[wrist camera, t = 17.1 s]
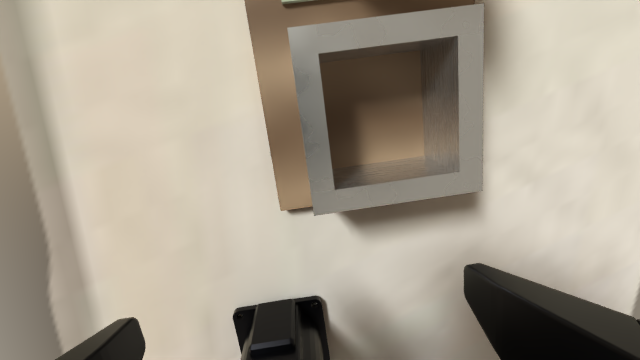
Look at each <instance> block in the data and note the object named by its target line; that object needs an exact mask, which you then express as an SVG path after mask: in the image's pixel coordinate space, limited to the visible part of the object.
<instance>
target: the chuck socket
mask: <svg viewBox="0 0 640 360" xmlns="http://www.w3.org/2000/svg"><path fill="white" fill-rule="evenodd" d="M287 30H288V37H289V45H290V52H291V59H292V66H293V73H294V80H295V87H296V94H297V101H298V108H299V115H300V122H301V129H302V136H303V143H304V150H305V157H306V164H307V171H308V178H309V185H310V192H311V198H312V205H313V212H314V216H316V215H323V214H329V213H336V212H343V211H350V210H357V209H363V208H370V207H377V206H384V205H390V204H397V203H404V202H411V201H418V200H424V199H431V198H438V197H445V196H452V195H458V194H465V193H472V192H479V191H482V173H483V61H484V3H482V4H474V5H466V6H458V7H450V8H442V9H434V10H426V11H418V12H410V13H402V14H394V15H386V16H378V17H370V18H362V19H354V20H346V21H338V22H330V23H321V24H313V25H305V26H297V27H289V28H287ZM418 50H420V57H421V81H422V106H423V130H424V155H425V156H420V157H413V158H406V159H399V160H392V161H385V162H378V163H371V164H364V165H357V166H350V167H343V168H336V169H332V164H331V155H330V147H329V139H328V131H327V122H326V114H325V106H324V98H323V89H322V81H321V73H320V65H319V63H325V62H332V61H340V60H348V59H356V58H363V57H371V56H379V55H387V54H394V53H402V52H410V51H418Z"/></svg>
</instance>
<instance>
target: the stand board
mask: <svg viewBox="0 0 640 360" xmlns="http://www.w3.org/2000/svg"><path fill="white" fill-rule="evenodd" d="M474 2H475V0H245V6H246V12H247V18H248V23H249V29H250V35H251V41H252V47H253V53H254V58H255V64H256V70H257V76H258V82H259V87H260V93H261V99H262V105H263V111H264V117H265V122H266V128H267V134H268V140H269V146H270V151H271V157H272V163H273V169H274V175H275V181H276V186H277V192H278V198H279V204H280V210H281V211H284V210H291V209H297V208H304V207H311V206H313V205H312V198H311V192H310V185H309V178H308V171H307V164H306V157H305V150H304V143H303V136H302V129H301V122H300V115H299V108H298V101H297V94H296V87H295V80H294V73H293V66H292V59H291V52H290V45H289V37H288V30H287V28H289V27H297V26H305V25H313V24H321V23H330V22H338V21H346V20H354V19H362V18H370V17H378V16H386V15H394V14H402V13H410V12H418V11H426V10H434V9H442V8H450V7H458V6H466V5H474ZM319 65H320V73H321V81H322V89H323V98H324V106H325V114H326V122H327V131H328V139H329V147H330V155H331V164H332V169H336V168H343V167H350V166H357V165H364V164H371V163H378V162H385V161H392V160H399V159H406V158H413V157H420V156H425V155H424V130H423V106H422V81H421V57H420V50H418V51H410V52H402V53H394V54H387V55H379V56H371V57H363V58H356V59H348V60H340V61H332V62H325V63H319Z"/></svg>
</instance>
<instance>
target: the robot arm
mask: <svg viewBox="0 0 640 360" xmlns="http://www.w3.org/2000/svg"><path fill="white" fill-rule="evenodd" d="M464 295H465V298H466V300H467V302H468V304H469V306H470V307H471V309H472V311H473V313H474V315H475V316H476V318H477V320H478V322H479V323H480V325H481V327H482V329H483V331H484V332H485V334H486V336H487V338H488V340H489V341H490V343H491V345H492V346H493V348H494V350H495V351H496V353H497V354H498V356H499V357H500V359H501V360H640V319H637V320H636V319H635V318H634V317H632V316H629V315H626V314H623V313H620V312H618V311H615V310H612V309H609V308H606V307H603V306H600V305H598V304H595V303H592V302H589V301H586V300H583V299H581V298H578V297H575V296H572V295H569V294H566V293H564V292H561V291H558V290H555V289H552V288H549V287H546V286H544V285H541V284H538V283H535V282H532V281H529V280H527V279H524V278H521V277H518V276H515V275H512V274H510V273H507V272H504V271H501V270H498V269H495V268H493V267H490V266H487V265H484V264H481V263H476V264H470V265H466V266H465V267H464ZM314 302H317V304H316V305H313V304H312V303H314ZM238 314H242V315H243V316H238ZM233 321H234V325H235V329H236V333H237V337H238V342H239V346H240V350H241V354H242V356H241V360H330V356H329V350H328V343H327V336H326V329H325V322H324V316H323V309H322V302H321V299H320V298H319V297H318V296H310V297H304V298H298V299H287V300H281V301H275V302H268V303H262V304H258V305H253V306H247V307H240V308H237V309H236V310H235V311H234V314H233ZM144 352H145V340H144V337H143V334H142V331H141V328H140V325H139V322H138V320H137V319H136V318H134V317H131V318H124V319H119V320H117V321H115V322H114V323H112V324H110V325H109V326H107V327H106V328H104V329H103V330H101V331H99V332H98V333H96V334H95V335H93V336H92V337H90V338H88V339H87V340H85V341H84V342H82V343H81V344H79V345H77V346H76V347H74V348H73V349H71V350H70V351H68V352H66V353H65V354H63V355H62V356H60V357H59V358H57V359H55V360H142V358H143V356H144Z"/></svg>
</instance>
